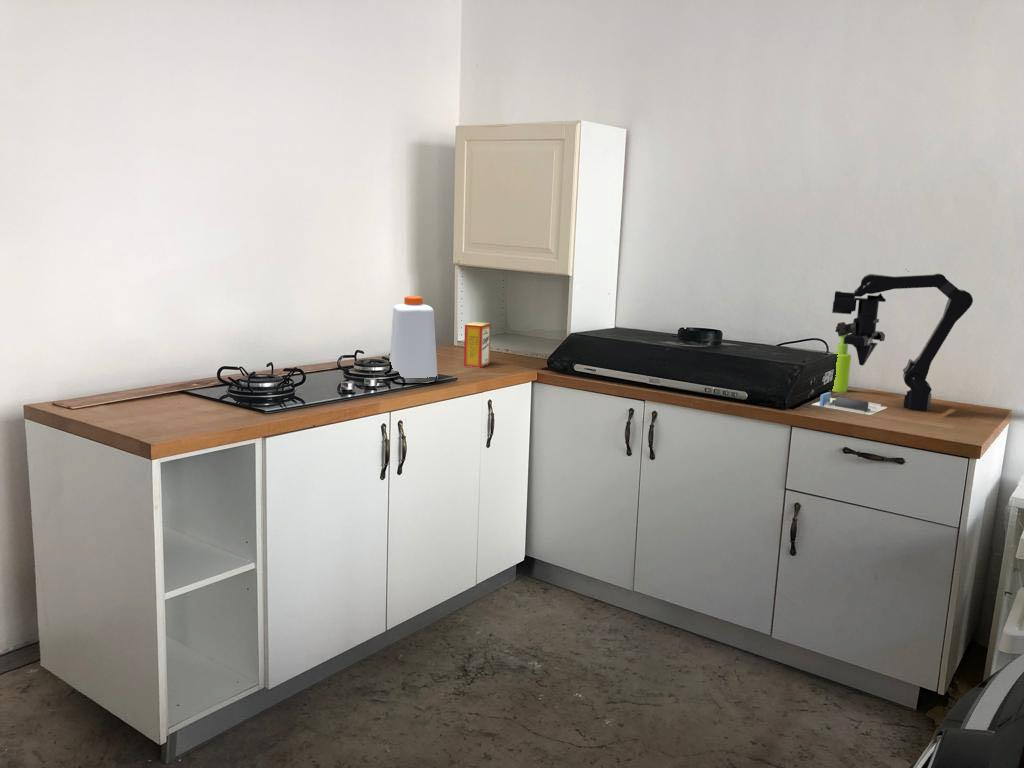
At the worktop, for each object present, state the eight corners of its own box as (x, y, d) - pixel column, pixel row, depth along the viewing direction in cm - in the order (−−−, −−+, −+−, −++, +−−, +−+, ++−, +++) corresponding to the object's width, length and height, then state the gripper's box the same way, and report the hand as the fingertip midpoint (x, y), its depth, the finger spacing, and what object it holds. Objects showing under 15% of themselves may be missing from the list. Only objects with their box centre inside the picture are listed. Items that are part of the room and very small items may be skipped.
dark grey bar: (867, 412, 258) (869, 402, 258) (863, 410, 256) (865, 401, 256) (837, 407, 264) (839, 397, 264) (834, 405, 262) (836, 396, 262)
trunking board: (887, 410, 264) (889, 396, 263) (870, 418, 253) (871, 403, 252) (830, 400, 276) (831, 387, 275) (810, 407, 265) (812, 393, 264)
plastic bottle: (430, 375, 298) (431, 294, 292) (439, 383, 284) (441, 299, 278) (386, 376, 293) (386, 294, 288) (394, 385, 279) (394, 299, 274)
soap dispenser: (851, 395, 285) (858, 336, 282) (829, 394, 287) (836, 334, 283) (848, 392, 291) (854, 333, 287) (827, 390, 292) (833, 332, 288)
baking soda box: (480, 368, 314) (481, 324, 311) (464, 366, 316) (464, 323, 313) (489, 364, 323) (490, 322, 320) (473, 362, 325) (474, 320, 322)
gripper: (852, 310, 276) (847, 358, 279) (829, 314, 262) (824, 364, 265) (888, 314, 269) (882, 363, 272) (866, 318, 255) (860, 370, 258)
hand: (861, 365), depth 267 cm, fingers closed
